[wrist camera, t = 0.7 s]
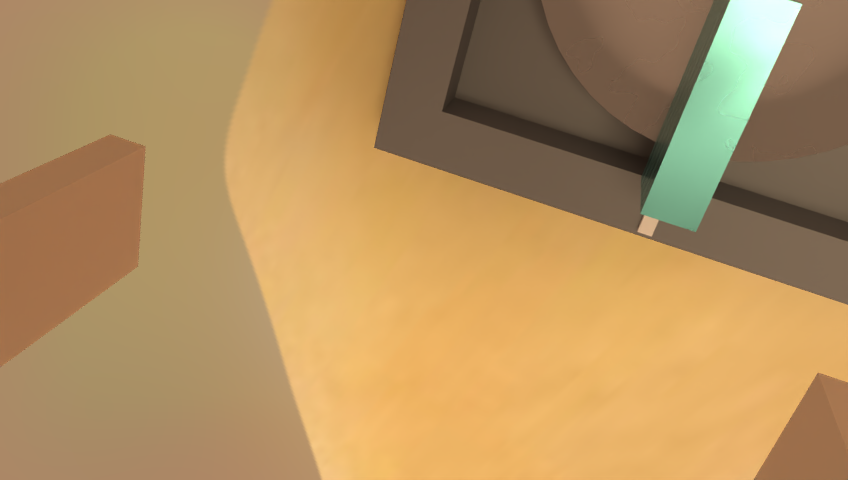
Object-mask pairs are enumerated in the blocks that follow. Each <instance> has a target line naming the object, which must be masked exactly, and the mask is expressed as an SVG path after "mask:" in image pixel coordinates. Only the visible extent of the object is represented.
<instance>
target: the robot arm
mask: <svg viewBox="0 0 848 480" xmlns="http://www.w3.org/2000/svg"><path fill="white" fill-rule="evenodd" d="M144 161H145V146H143V145H140V144H137V143H134V142H131V141H128V140H125V139H122V138H119V137H116V136H114V135H108V136H106V137H104V138H101V139H99V140H97V141H95V142H92V143H90V144H88V145H86V146H83V147H81V148H79V149H77V150H74V151H72V152H70V153H68V154H65V155H63V156H61V157H59V158H57V159H54V160H52V161H50V162H48V163H45V164H43V165H41V166H39V167H36V168H34V169H32V170H30V171H27V172H25V173H23V174H21V175H19V176H16V177H14V178H12V179H10V180H7V181H5V182H3V183H1V184H0V367H1V366H3V365H4V364H5V363H7V362H8V361H9V360H11V359H12V358H14V357H15V356H16V355H18V354H19V353H20V352H22V351H23V350H25V349H26V348H27V347H29V346H30V345H31V344H33V343H34V342H35V341H37V340H38V339H40V338H41V337H42V336H44V335H45V334H46V333H48V332H49V331H50V330H52V329H53V328H55V327H56V326H57V325H58V324H60V323H61V322H63V321H64V320H65V319H67V318H68V317H69V316H71V315H72V314H74V313H75V312H76V311H78V310H79V309H80V308H82V307H83V306H85V305H86V304H87V303H88V302H90V301H91V300H92V299H94V298H95V297H97V296H98V295H100V294H101V293H102V292H104V291H105V290H106V289H108V288H109V287H110V286H112V285H113V284H115V283H116V282H117V281H119V280H120V279H121V278H123V277H124V276H125V275H127V274H128V273H130V272H131V271H132V270H134V269H135V268H136V267H137V266H138V258H139V241H140V225H141V209H142V193H143V177H144ZM754 480H848V383H847V382H844V381H841V380H838V379H835V378H832V377H829V376H826V375H823V374H820V373H818V374H817V375H816V377H815V379H814V380H813V382H812V384H811V385H810V387H809V389H808V390H807V392H806V394H805V395H804V397H803V399H802V400H801V402H800V404H799V405H798V407H797V409H796V410H795V412H794V414H793V415H792V417H791V419H790V420H789V422H788V424H787V425H786V427H785V428H784V430H783V432H782V433H781V435H780V437H779V438H778V440H777V442H776V443H775V445H774V447H773V448H772V450H771V452H770V453H769V455H768V457H767V458H766V460H765V462H764V463H763V465H762V467H761V468H760V470H759V472H758V473H757V475H756V477H755V478H754Z"/></svg>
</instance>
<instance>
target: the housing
mask: <svg viewBox="0 0 848 480" xmlns="http://www.w3.org/2000/svg"><path fill="white" fill-rule="evenodd" d="M654 145H655V141H653V140H651V139H649V138H647V137H645V136H644V135H642V134H640V133H638V132H636V131H634V130H633V129H631V128H629V127H628V126H627V125H625V124H624V123H622V122H621V121H620V120H618V119H617V118H616V117H614V116H613V115H611V114H610V113H609V112H608V111H607V110H606V109H605V108H604V107H603V106H601V105H600V104H599V103H598V102H597V101H596V100H595V99H594V98H593V97H592V96H591V95H590V94H589V93H588V91H587V90H586V89H585V88H584V86H583V85H582V84H581V83H580V81H579V80H578V79H577V78H576V76H575V75H574V74H573V72H572V71H571V69H570V67H569V66H568V64H567V62H566V61H565V59H564V57H563V56H562V54H561V52H560V51H559V49H558V46H557V44H556V42H555V39H554V37H553V35H552V32H551V30H550V28H549V25H548V22H547V19H546V15H545V11H544V8H543V4H542V1H541V0H407V1H406V5H405V10H404V14H403V19H402V23H401V28H400V32H399V37H398V41H397V46H396V50H395V55H394V60H393V64H392V69H391V73H390V78H389V82H388V87H387V91H386V96H385V100H384V105H383V109H382V114H381V119H380V123H379V128H378V132H377V137H376V141H375V146H374V148H377V149H380V150H383V151H386V152H389V153H392V154H395V155H398V156H401V157H404V158H407V159H410V160H413V161H416V162H419V163H422V164H425V165H428V166H431V167H434V168H437V169H440V170H443V171H446V172H449V173H452V174H455V175H458V176H461V177H464V178H467V179H470V180H473V181H476V182H479V183H482V184H485V185H488V186H491V187H494V188H497V189H500V190H504V191H507V192H510V193H513V194H516V195H519V196H522V197H525V198H528V199H531V200H534V201H537V202H540V203H543V204H546V205H549V206H552V207H555V208H558V209H561V210H564V211H567V212H570V213H573V214H576V215H579V216H582V217H585V218H588V219H591V220H594V221H597V222H600V223H603V224H606V225H609V226H612V227H615V228H618V229H621V230H624V231H627V232H630V233H633V234H636V235H639V236H642V237H645V238H648V239H651V240H654V241H657V242H660V243H663V244H667V245H670V246H673V247H676V248H679V249H682V250H685V251H688V252H691V253H694V254H697V255H700V256H703V257H706V258H709V259H712V260H715V261H718V262H721V263H724V264H727V265H730V266H733V267H736V268H739V269H742V270H745V271H748V272H751V273H754V274H757V275H760V276H763V277H766V278H769V279H772V280H775V281H778V282H781V283H784V284H787V285H790V286H793V287H796V288H799V289H802V290H805V291H808V292H811V293H814V294H817V295H820V296H823V297H826V298H830V299H833V300H836V301H839V302H842V303H845V304H848V144H847V145H844V146H841V147H839V148H836V149H833V150H830V151H827V152H822V153H818V154H813V155H809V156H804V157H800V158H795V159H786V160H776V161H767V162H736V161H729V162H728V164H727V167H726V169H725V171H724V173H723V175H722V177H721V179H720V182H719V184H718V186H717V188H716V190H715V192H714V194H713V196H712V199H711V201H710V203H709V205H708V207H707V209H706V211H705V214H704V216H703V218H702V220H701V222H700V224H699V226H698V229H697V231H696V232H694V231H691V230H688V229H685V228H682V227H679V226H676V225H673V224H670V223H666V222H663V221H660V220H657V219H654V218H651V217H648V216H645V215H642V214H640V203H641V176H642V174H643V171H644V169H645V167H646V164H647V162H648V159H649V157H650V154H651V152H652V150H653V147H654Z"/></svg>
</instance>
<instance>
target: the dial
mask: <svg viewBox="0 0 848 480" xmlns="http://www.w3.org/2000/svg"><path fill="white" fill-rule="evenodd" d="M541 1H542V4H543V8H544V11H545V15H546V19H547V22H548V25H549V28H550V30H551V32H552V35H553V37H554V39H555V42H556V44H557V46H558V49H559V51H560V52H561V54H562V56H563V57H564V59H565V61H566V62H567V64H568V66H569V67H570V69H571V71H572V72H573V74H574V75H575V76H576V78H577V79H578V80H579V81H580V83H581V84H582V85H583V86H584V88H585V89H586V90H587V91H588V93H589V94H590V95H591V96H592V97H593V98H594V99H595V100H596V101H597V102H598V103H599V104H600V105H601V106H603V107H604V108H605V109H606V110H607V111H608V112H609V113H610V114H611V115H613V116H614V117H616V118H617V119H618V120H620V121H621V122H622V123H624V124H625V125H627V126H628V127H629V128H631V129H633V130H634V131H636V132H638V133H640V134H642V135H644V136H645V137H647V138H649V139H651V140H653V141H655V145H654V147H653V150H652V152H651V154H650V157H649V159H648V162H647V164H646V167H645V169H644V171H643V174H642V176H641V203H640V214H642V215H645V216H648V217H651V218H654V219H657V220H660V221H663V222H666V223H670V224H673V225H676V226H679V227H682V228H685V229H688V230H691V231H694V232H696V231H697V229H698V226H699V224H700V222H701V220H702V218H703V216H704V214H705V211H706V209H707V207H708V205H709V203H710V201H711V199H712V196H713V194H714V192H715V190H716V188H717V186H718V184H719V182H720V179H721V177H722V175H723V173H724V171H725V169H726V167H727V164H728V162H729V161H736V162H767V161H776V160H786V159H795V158H800V157H804V156H809V155H813V154H818V153H822V152H827V151H830V150H833V149H836V148H839V147H841V146H844V145H847V144H848V0H541Z"/></svg>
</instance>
